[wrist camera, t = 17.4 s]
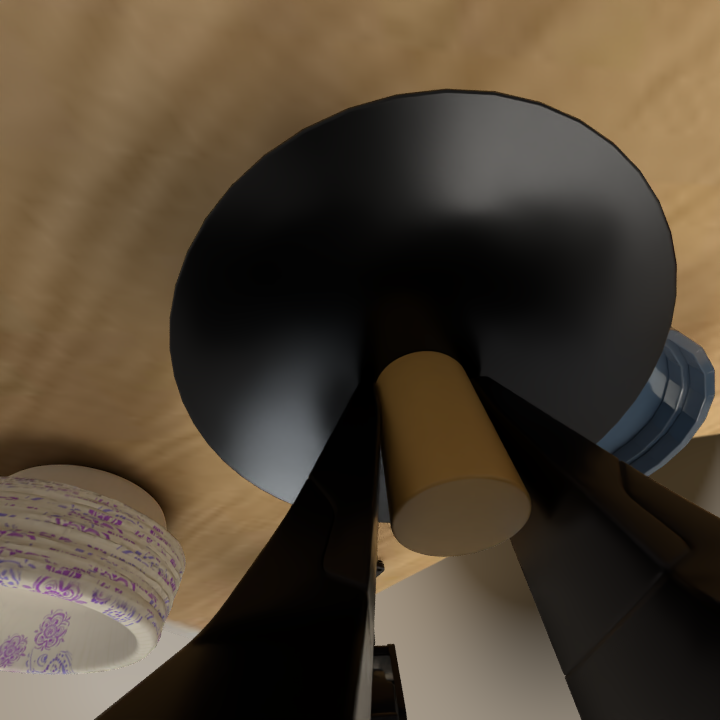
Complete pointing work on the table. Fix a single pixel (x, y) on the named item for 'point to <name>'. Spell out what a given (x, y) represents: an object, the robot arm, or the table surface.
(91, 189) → the table surface
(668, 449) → the blue-grey round rimmed part
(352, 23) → the table surface
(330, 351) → the tin lid
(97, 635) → the paper bowls
